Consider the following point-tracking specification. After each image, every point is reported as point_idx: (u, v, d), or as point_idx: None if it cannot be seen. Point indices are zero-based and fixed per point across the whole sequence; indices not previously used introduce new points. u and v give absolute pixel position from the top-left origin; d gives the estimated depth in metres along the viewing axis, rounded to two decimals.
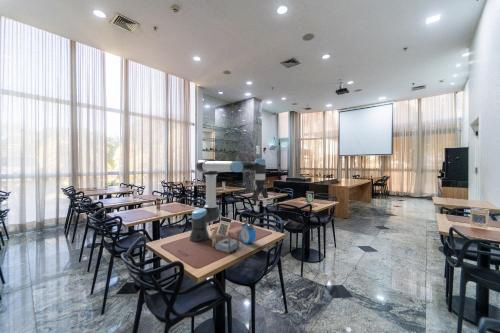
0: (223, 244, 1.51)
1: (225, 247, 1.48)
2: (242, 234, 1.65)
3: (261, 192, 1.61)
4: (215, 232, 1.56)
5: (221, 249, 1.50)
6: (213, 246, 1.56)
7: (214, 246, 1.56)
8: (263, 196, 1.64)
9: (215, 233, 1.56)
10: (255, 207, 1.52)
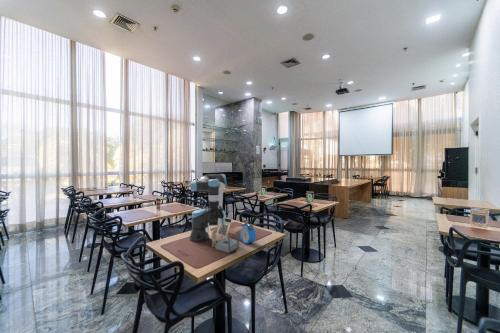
0: (223, 244, 1.51)
1: (225, 247, 1.48)
2: (242, 234, 1.65)
3: (216, 213, 1.60)
4: (215, 232, 1.56)
5: (221, 249, 1.50)
6: (213, 246, 1.56)
7: (214, 246, 1.56)
8: (218, 216, 1.63)
9: (215, 233, 1.56)
10: (207, 229, 1.51)
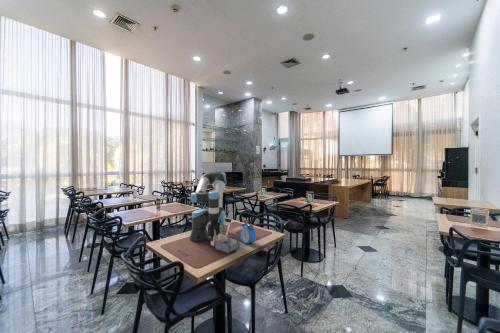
0: (223, 244, 1.51)
1: (225, 247, 1.48)
2: (242, 234, 1.65)
3: (214, 226, 1.59)
4: (215, 232, 1.56)
5: (221, 249, 1.50)
6: (213, 246, 1.56)
7: (214, 246, 1.56)
8: None
9: (215, 233, 1.56)
10: (212, 242, 1.56)
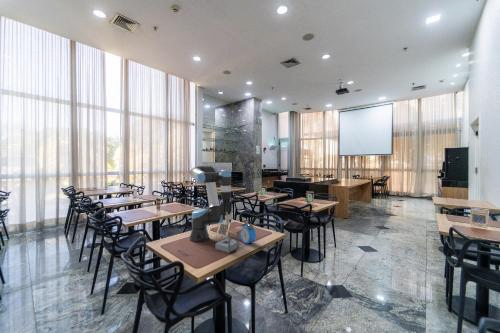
0: (223, 244, 1.51)
1: (225, 247, 1.48)
2: (242, 234, 1.65)
3: (225, 205, 1.56)
4: (227, 214, 1.54)
5: (221, 249, 1.50)
6: (225, 228, 1.53)
7: (226, 228, 1.53)
8: (226, 211, 1.56)
9: (227, 215, 1.54)
10: (224, 221, 1.53)
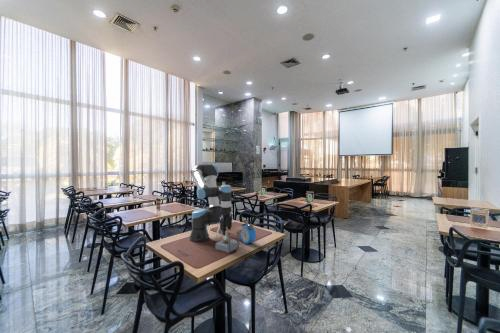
0: (223, 244, 1.51)
1: (225, 247, 1.48)
2: (242, 234, 1.65)
3: None
4: (227, 229, 1.54)
5: (221, 249, 1.50)
6: None
7: None
8: (226, 226, 1.57)
9: (227, 230, 1.54)
10: (224, 237, 1.53)
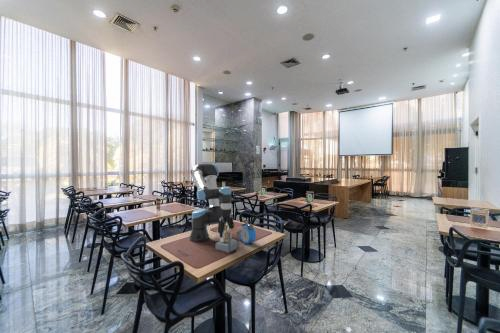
0: (223, 244, 1.51)
1: (225, 247, 1.48)
2: (242, 234, 1.65)
3: (227, 221, 1.57)
4: (227, 233, 1.55)
5: (221, 249, 1.50)
6: None
7: None
8: (229, 226, 1.59)
9: (227, 234, 1.54)
10: (221, 239, 1.50)
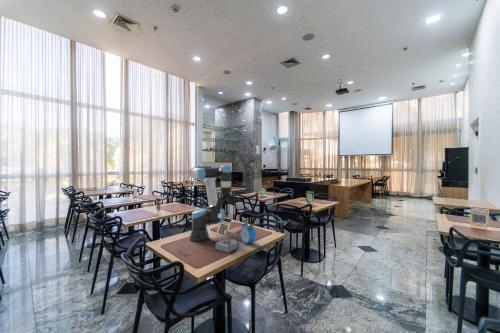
0: (223, 244, 1.51)
1: (225, 247, 1.48)
2: (242, 234, 1.65)
3: (228, 199, 1.59)
4: (227, 233, 1.54)
5: (221, 249, 1.50)
6: None
7: None
8: (230, 203, 1.61)
9: (227, 234, 1.54)
10: (219, 215, 1.49)
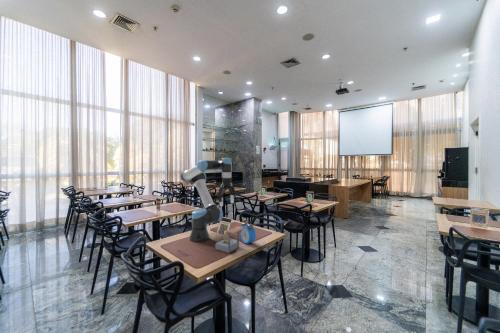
0: (223, 244, 1.51)
1: (225, 247, 1.48)
2: (242, 234, 1.65)
3: (228, 189, 1.71)
4: (227, 233, 1.54)
5: (221, 249, 1.50)
6: None
7: None
8: None
9: (227, 234, 1.54)
10: (221, 203, 1.62)
